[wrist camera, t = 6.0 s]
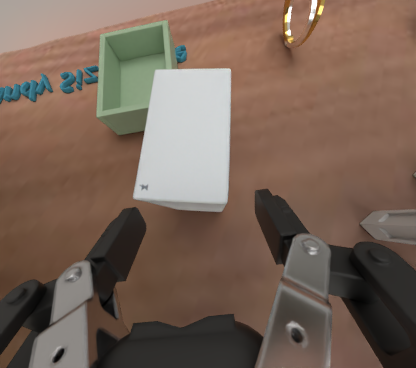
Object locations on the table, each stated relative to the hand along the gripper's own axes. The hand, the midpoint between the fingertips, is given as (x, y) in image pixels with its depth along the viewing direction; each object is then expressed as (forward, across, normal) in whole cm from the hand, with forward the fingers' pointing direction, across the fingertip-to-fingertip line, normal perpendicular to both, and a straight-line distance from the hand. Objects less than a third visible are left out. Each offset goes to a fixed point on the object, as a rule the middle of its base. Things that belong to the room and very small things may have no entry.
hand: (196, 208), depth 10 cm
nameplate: (+25, +18, -12) cm, 33 cm away
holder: (+21, +7, -8) cm, 24 cm away
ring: (+24, -16, -11) cm, 31 cm away
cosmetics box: (+10, 0, +3) cm, 11 cm away
